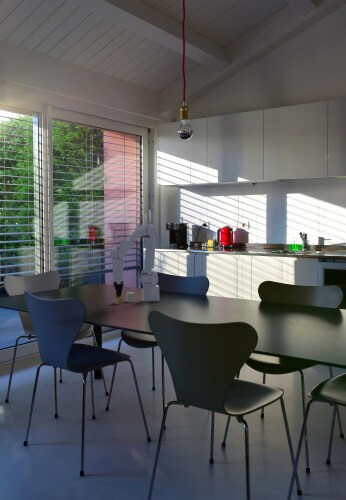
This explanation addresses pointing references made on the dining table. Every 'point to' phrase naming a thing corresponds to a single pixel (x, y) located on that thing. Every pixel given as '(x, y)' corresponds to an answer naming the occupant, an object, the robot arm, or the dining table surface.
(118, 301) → the maple block
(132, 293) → the sage block
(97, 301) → the dining table surface
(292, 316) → the dining table surface
